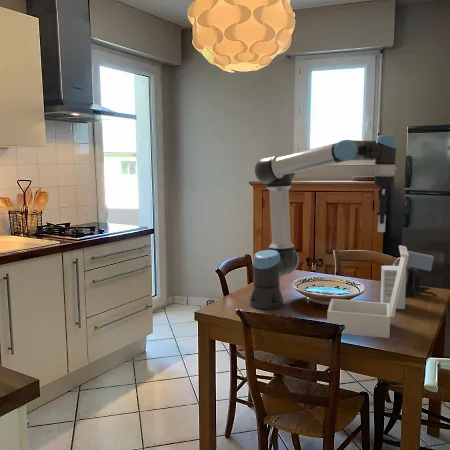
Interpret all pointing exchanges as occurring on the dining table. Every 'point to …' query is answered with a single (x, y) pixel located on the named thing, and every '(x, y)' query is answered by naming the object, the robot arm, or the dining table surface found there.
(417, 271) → the milk frother
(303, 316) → the dining table surface
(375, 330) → the mailer box
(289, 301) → the dining table surface
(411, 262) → the mailer lid
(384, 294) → the supplement box
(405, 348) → the dining table surface
